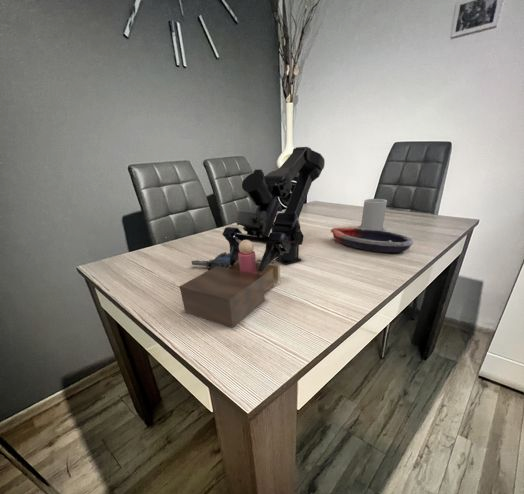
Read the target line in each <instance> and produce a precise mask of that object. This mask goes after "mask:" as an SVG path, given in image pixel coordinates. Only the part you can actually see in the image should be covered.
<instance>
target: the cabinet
mask: <svg viewBox="0 0 524 494" xmlns="http://www.w3.org/2000/svg"><path fill="white" fill-rule="evenodd" d="M179 291H180V295H181V300H182V304H183V308H184V312H185V313H186V314H189V315H192V316H196V317H199V318H201V319H204V320H207V321H210V322H214V323H217V324H219V325H222V326H225V327H228V328H231V329H234V328H235V327H236V326H237V325H238V324H240V323H241V322H242V321H243V320H244V319H245V318H246V317H248V316H249V315H250V314H251V313H252V312H253V311H255V310H256V309H257V308H258V307H260V306H261V304H263V303H264V302H265V300H266V299H265V292H264V280H263V275H258V274H254V273H249V272H244V271H239V270H234V269H229V268H227V267H225V268H224V267H219V266H216V267H214V268H213V269H211V268H210V270H209V271H208V270H207V271H205V272H204V273H201V274H199V275H198V276H196V277H194V278H192V279H190V280H189V281H186V282H185V283H183V284H181V285H180V286H179Z"/></svg>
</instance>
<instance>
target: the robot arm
mask: <svg viewBox="0 0 524 494" xmlns="http://www.w3.org/2000/svg"><path fill="white" fill-rule="evenodd" d="M325 162H326V161H325V157H324V156H323V155H322V154H321V153H319V152H317V151H315V150H313V149H311V147H309V146H297V147H294V148H293V149H292V153H291V154H290V155H289V156H288V157H287V158H286V160H285V161H284V162H283V163H282V165H281V166H280V167H279V168H277V169H275V170H273V171H270V172H269V173H267V174H266V175H265V174H264V171H263V169H254V170H253V173H250V174H248V175H246V177H245V178H244V179H243V180H242V183H241V189H242V190H243V191H244V193H245V194H246V196H247V197H248V199H249V200H250V202H251V203H252V204H253V205H254V206H256V209H255V211H254V212H251V211H238V213H237V219H236V226H241V227H242V229H243V231H244V232H246V233H243V232H242V231H241V230H240V229H239V228H238V227H232V226H227V227H225V228H224V229H223V232H222V234H221V235H222V236H223V237H224V238H225V240H226V241H227V242H228V245H229V253H230V265H231V266H233V265H234V263H235V262H236V260H237V258H238V253H239V252H240V250H239V244H240V243H241V242H242V241H243V240H249V241H251V242H252V243H257V244H264V245H265V249H264V253H263V255H262V259H260V260H261V263H260V266H259V271H262V270H263V269H264V268H265V267H266V266H267V265H269V264H270V263H271V262H274V260H276V261H278V262H280V263H282V264H284V265H290V264H293V263H298V262H301V261H302V259H301V258H300V256H299V254H300V250H299V249H300V246H302V245H303V243H304V233H303V232H302V230H301V223H300V220H299V218H300V216H301V213H302V211H303V207H304V205H305V202H306V200H307V197H308V194H309V191H310V188H311V186H312V183H313V182H314V181H315V180H317V179H318V178H319V177H320V176H321V173H322V171H323V170H324V168H325ZM297 174H298V177H297V179H296V182H295V185H294V187H293V185H292V182H293V180H294V179H295V177H296V176H297ZM292 188H293V189H292ZM291 190H292V192H291ZM290 192H291V194H290ZM289 194H290V197H289V200H288V202H287V205H286V208H285V210H284V211H285V212H284V213H278V214H277V212H278V211H279V212H281V211H283V207H282V205H281V201H280V200H279V199H278V198H287V197H288V196H289ZM276 215H277V216H276Z"/></svg>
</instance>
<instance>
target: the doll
mask: <svg viewBox="0 0 524 494" xmlns="http://www.w3.org/2000/svg"><path fill="white" fill-rule="evenodd" d="M239 250H240V252H239V253H238V257H239V267H240V271H244V272H249V273H254V274H256V261H257V259H256V252H255V251H254V243H253V242H251V241H249V240H243V241H242V242H241V243H240V244H239Z"/></svg>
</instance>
